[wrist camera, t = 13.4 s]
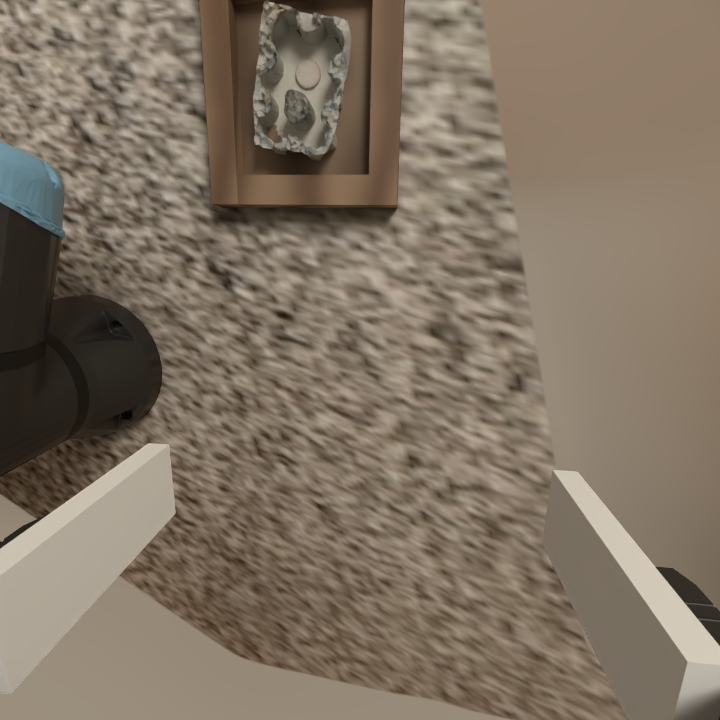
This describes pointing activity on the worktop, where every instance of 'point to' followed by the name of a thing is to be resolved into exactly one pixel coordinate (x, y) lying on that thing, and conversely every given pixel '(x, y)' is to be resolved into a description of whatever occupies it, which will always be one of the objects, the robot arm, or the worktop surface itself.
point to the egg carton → (300, 79)
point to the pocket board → (295, 169)
